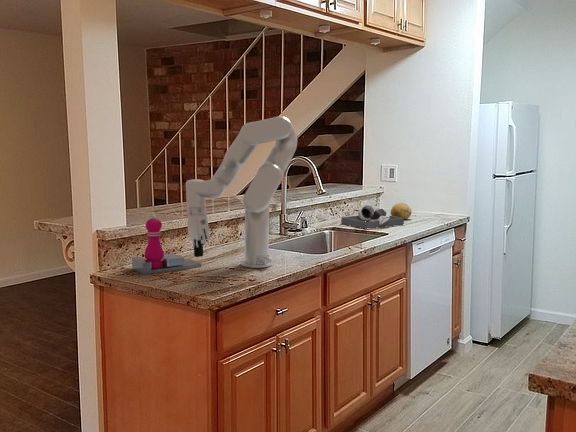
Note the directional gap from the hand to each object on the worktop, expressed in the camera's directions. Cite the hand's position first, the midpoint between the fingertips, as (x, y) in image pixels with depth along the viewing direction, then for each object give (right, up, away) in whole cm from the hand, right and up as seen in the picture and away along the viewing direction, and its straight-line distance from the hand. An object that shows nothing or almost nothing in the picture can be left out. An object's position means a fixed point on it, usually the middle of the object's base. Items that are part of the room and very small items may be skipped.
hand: (198, 256), depth 236 cm
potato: (+104, +14, +125) cm, 163 cm away
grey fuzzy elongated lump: (+84, +11, +103) cm, 133 cm away
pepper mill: (-15, -3, -10) cm, 19 cm away
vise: (-11, -4, -7) cm, 14 cm away
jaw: (-10, -2, -6) cm, 12 cm away
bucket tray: (+84, +11, +103) cm, 133 cm away
